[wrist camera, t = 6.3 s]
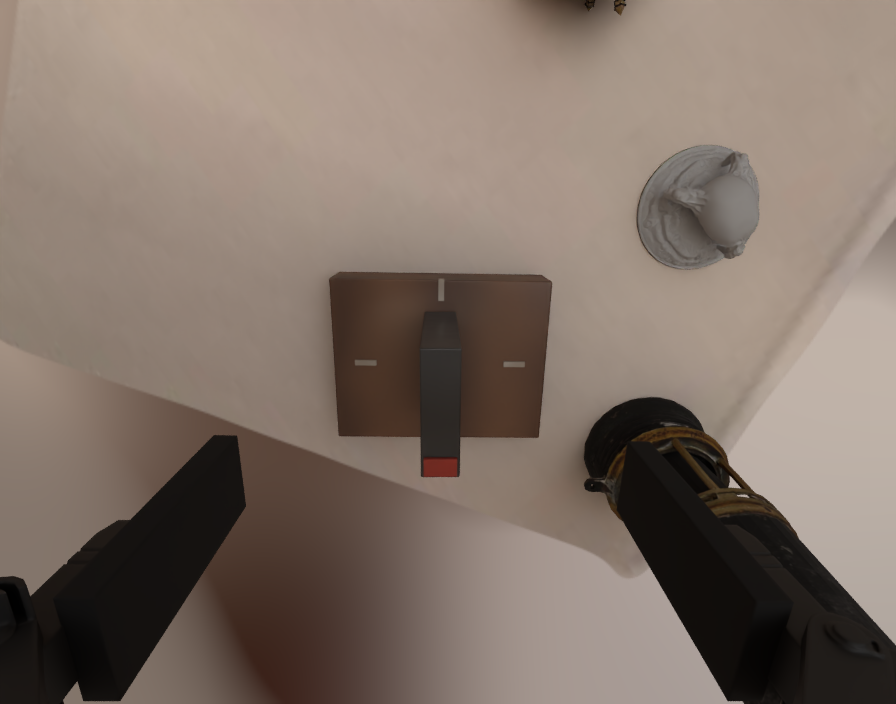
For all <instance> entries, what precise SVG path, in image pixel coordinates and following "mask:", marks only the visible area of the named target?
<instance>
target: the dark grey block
mask: <svg viewBox="0 0 896 704" xmlns="http://www.w3.org/2000/svg"><path fill="white" fill-rule="evenodd" d="M419 351H420V429H421V476H422V477H459V476H460V423H461V363H462V348H461V342H460V335H459V329H458V323H457V316H456V312H425V314H424V321H423V328H422V335H421V342H420V350H419Z"/></svg>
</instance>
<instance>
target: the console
mask: <svg viewBox="0 0 896 704" xmlns="http://www.w3.org/2000/svg"><path fill="white" fill-rule="evenodd" d="M329 282H330V299H331V315H332V332H333V348H334V365H335V381H336V398H337V414H338V431H339V436H382V437H421V429H420V351H419V350H420V342H421V335H422V328H423V321H424V314H425V312H456V316H457V323H458V329H459V335H460V342H461V348H462V363H461V423H460V437H514V438H538V437H539V428H540V416H541V405H542V393H543V382H544V370H545V359H546V347H547V336H548V324H549V313H550V301H551V290H552V282H551V281H550V280H548V279H547V278H545V277H544V276H542V275H507V274H443V273H379V272H339V273H337V274H336V275H334V276H333V277H331V278H330V279H329Z"/></svg>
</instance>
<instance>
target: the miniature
mask: <svg viewBox="0 0 896 704" xmlns="http://www.w3.org/2000/svg"><path fill="white" fill-rule="evenodd" d="M758 221H759V187H758V182H757V178H756V175H755V173H754V171H753V169H752V167H751V166H750V164H749V160H748V155H747V154H745V153H742V154H741V153H740V152H738V151H733V150H731V149H729V148H726V147H722V146H717V145H703V146H696V147H692V148H689V149H686V150H684V151H681V152H679V153H677V154H676V155H674V156H672V157H671V158H669V159H668V160H667V161H666V162H664V163H663V164H662V165H661V166H660V167H659V168H658V169H657V170H656V171H655V173H654V174H653V175H652V176H651V178H650V179H649V181H648V183H647V184H646V186H645V188H644V190H643V193H642V195H641V198H640V201H639V206H638V213H637V224H638V230H639V234H640V237H641V240H642V242H643V244H644V246H645V247H646V249H647V250H648V252H649V253H650V254H651V255H652V256H653V257H654V258H656V259H657V260H658V261H660V262H662V263H663V264H666V265H668V266H671V267H674V268H679V269H696V268H701V267H705V266H708V265H711V264H713V263H716V262H718V261H719V260H721V259H723V258H724V257H725V258H728V259H731V258H734V257H735V256H739V255H741V254H742V253H743V250H744V248H745V244H746V242H747V240H748V239H749V237H750V236H751V234H752V233H753V232H754V231H755V229H756V227H757V225H758Z"/></svg>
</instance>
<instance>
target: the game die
mask: <svg viewBox="0 0 896 704" xmlns="http://www.w3.org/2000/svg"><path fill="white" fill-rule="evenodd" d="M624 1H625V0H615V1H614V6H615V7H614V11H616V12H617V13H618V14H619V15H621V13H622V11H623V9H624V7H625V6H626V4H625V2H624ZM594 3H595V0H586V3H585V6H586V7H587V9H588V11H589V10H590V9H591V8H592V7H594Z"/></svg>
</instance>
